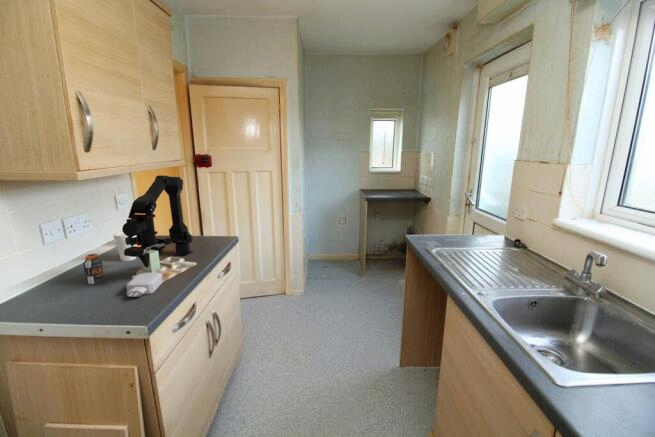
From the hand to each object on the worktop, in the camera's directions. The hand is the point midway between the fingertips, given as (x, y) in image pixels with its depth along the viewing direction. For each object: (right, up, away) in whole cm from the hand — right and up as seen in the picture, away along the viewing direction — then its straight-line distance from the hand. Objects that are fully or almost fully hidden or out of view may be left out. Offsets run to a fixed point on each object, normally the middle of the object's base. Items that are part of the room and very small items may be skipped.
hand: (151, 265), depth 130 cm
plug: (0, -2, 0) cm, 2 cm away
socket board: (+3, -3, +5) cm, 7 cm away
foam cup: (-22, 0, +20) cm, 30 cm away
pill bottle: (-20, -6, -5) cm, 21 cm away
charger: (+5, -8, -14) cm, 17 cm away
